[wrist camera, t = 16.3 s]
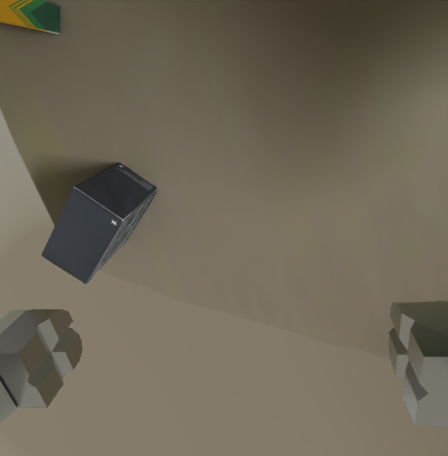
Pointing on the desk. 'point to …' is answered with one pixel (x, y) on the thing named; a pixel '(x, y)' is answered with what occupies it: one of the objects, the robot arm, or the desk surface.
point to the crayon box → (31, 14)
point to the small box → (98, 220)
